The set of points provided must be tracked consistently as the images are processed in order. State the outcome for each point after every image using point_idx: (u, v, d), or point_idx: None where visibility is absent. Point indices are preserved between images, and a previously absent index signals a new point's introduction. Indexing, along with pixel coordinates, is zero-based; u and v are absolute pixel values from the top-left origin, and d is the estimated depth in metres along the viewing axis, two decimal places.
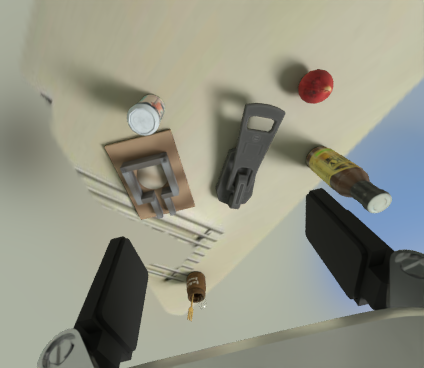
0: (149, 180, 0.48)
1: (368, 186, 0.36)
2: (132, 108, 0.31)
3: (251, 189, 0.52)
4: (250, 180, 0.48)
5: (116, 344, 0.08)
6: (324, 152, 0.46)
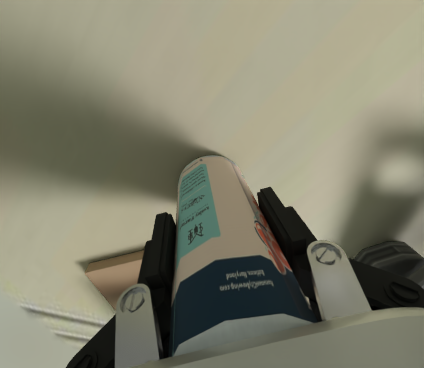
0: None
1: None
2: None
3: None
4: None
5: None
6: None
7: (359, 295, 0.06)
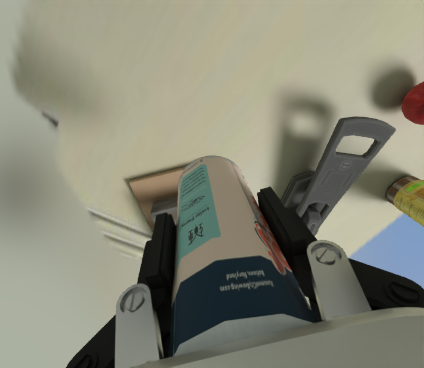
0: None
1: None
2: None
3: None
4: (322, 217, 0.35)
5: None
6: (423, 188, 0.35)
7: (359, 295, 0.06)
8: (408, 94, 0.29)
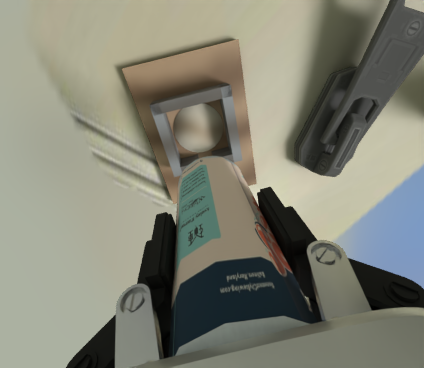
0: (192, 135, 0.29)
1: None
2: None
3: (355, 146, 0.32)
4: (367, 125, 0.28)
5: None
6: None
7: (359, 295, 0.06)
8: None
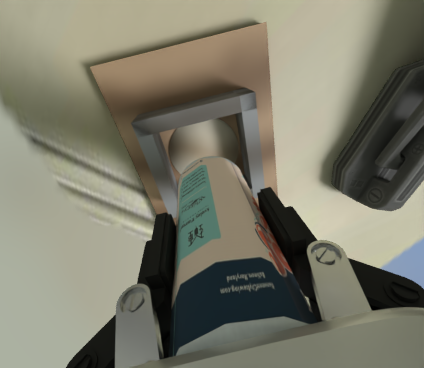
0: None
1: None
2: None
3: None
4: None
5: None
6: None
7: (359, 295, 0.06)
8: None
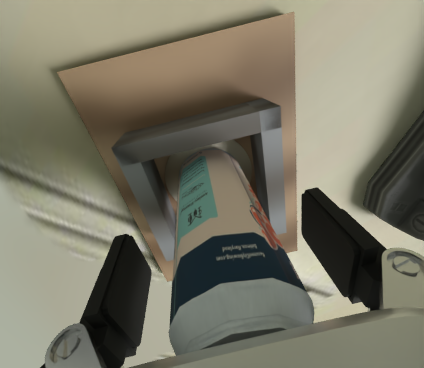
0: None
1: None
2: (205, 310, 0.06)
3: None
4: None
5: (121, 339, 0.08)
6: None
7: None
8: None
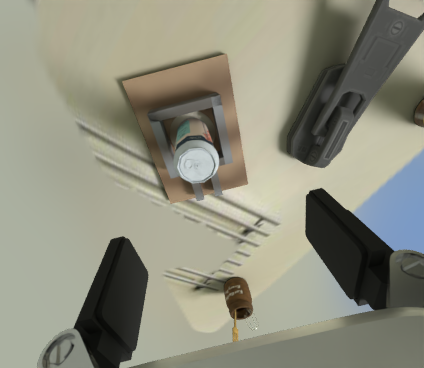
0: None
1: None
2: (183, 147, 0.21)
3: (343, 139, 0.34)
4: (354, 118, 0.30)
5: (116, 344, 0.08)
6: None
7: None
8: None
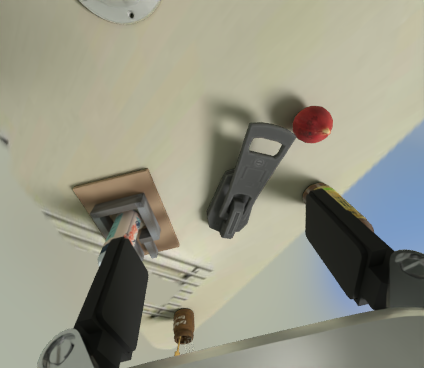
0: None
1: None
2: (102, 255, 0.32)
3: (247, 216, 0.45)
4: (247, 208, 0.41)
5: (116, 344, 0.08)
6: None
7: None
8: None
